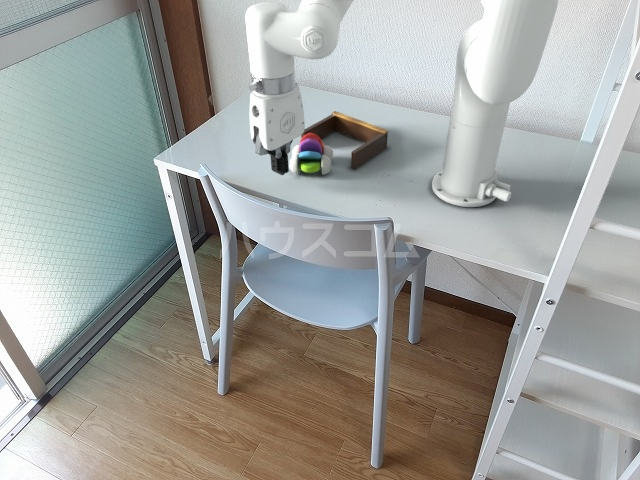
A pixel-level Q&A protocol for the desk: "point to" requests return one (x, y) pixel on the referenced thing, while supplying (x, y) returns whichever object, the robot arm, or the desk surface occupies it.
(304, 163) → the rainbow white-wheeled buggy
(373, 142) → the garage
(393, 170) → the desk surface
